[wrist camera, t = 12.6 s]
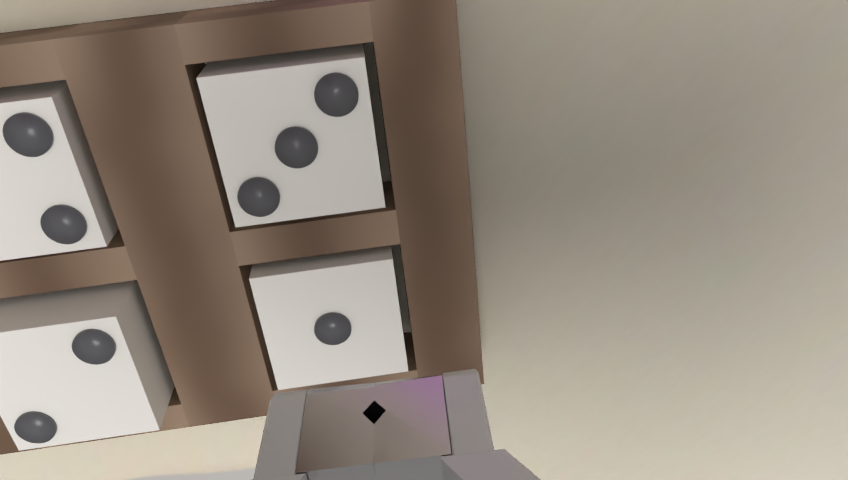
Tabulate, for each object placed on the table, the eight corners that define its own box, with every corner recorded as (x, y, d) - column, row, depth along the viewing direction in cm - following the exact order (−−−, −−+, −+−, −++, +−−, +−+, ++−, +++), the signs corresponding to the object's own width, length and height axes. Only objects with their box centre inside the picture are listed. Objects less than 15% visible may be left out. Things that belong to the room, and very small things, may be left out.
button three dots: (362, 39, 27) (364, 58, 24) (381, 176, 30) (385, 209, 27) (212, 57, 27) (195, 79, 24) (245, 194, 29) (234, 229, 26)
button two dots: (138, 274, 29) (114, 319, 26) (175, 381, 32) (158, 433, 29) (-3, 293, 29) (-44, 341, 26) (47, 400, 32) (17, 454, 29)
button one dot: (388, 224, 31) (393, 261, 28) (403, 330, 34) (408, 374, 31) (257, 242, 31) (248, 281, 28) (283, 347, 33) (277, 393, 30)
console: (444, -20, 26) (455, -10, 24) (473, 346, 35) (483, 383, 32) (-184, 55, 25) (-246, 75, 23) (4, 413, 34) (-25, 458, 31)
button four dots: (83, 74, 26) (49, 98, 23) (130, 211, 29) (105, 248, 26) (-74, 93, 26) (-129, 120, 23) (-11, 229, 29) (-53, 270, 26)
